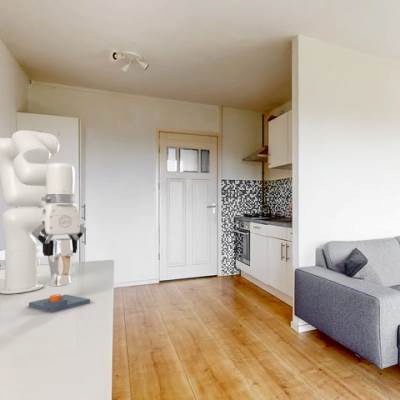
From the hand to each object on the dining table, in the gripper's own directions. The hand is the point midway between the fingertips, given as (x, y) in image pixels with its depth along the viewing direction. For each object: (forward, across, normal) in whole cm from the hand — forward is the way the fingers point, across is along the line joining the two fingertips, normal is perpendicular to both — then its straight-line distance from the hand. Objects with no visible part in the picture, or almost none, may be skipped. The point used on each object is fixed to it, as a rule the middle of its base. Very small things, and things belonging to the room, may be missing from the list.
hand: (60, 253), depth 113 cm
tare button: (+14, -5, -7) cm, 16 cm away
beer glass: (+10, 0, 0) cm, 10 cm away
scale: (+16, -2, -2) cm, 16 cm away
